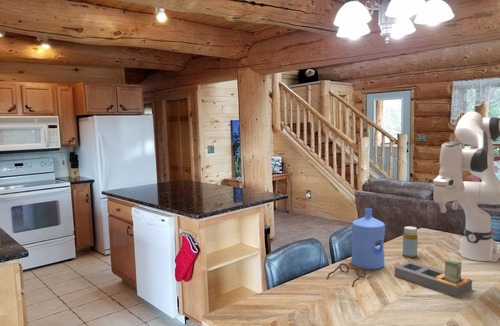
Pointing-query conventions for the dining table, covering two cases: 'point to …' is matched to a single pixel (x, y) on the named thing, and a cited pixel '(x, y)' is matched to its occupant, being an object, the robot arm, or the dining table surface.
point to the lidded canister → (410, 241)
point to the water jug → (367, 242)
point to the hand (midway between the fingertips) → (449, 210)
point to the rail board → (432, 278)
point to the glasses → (348, 270)
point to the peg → (453, 271)
